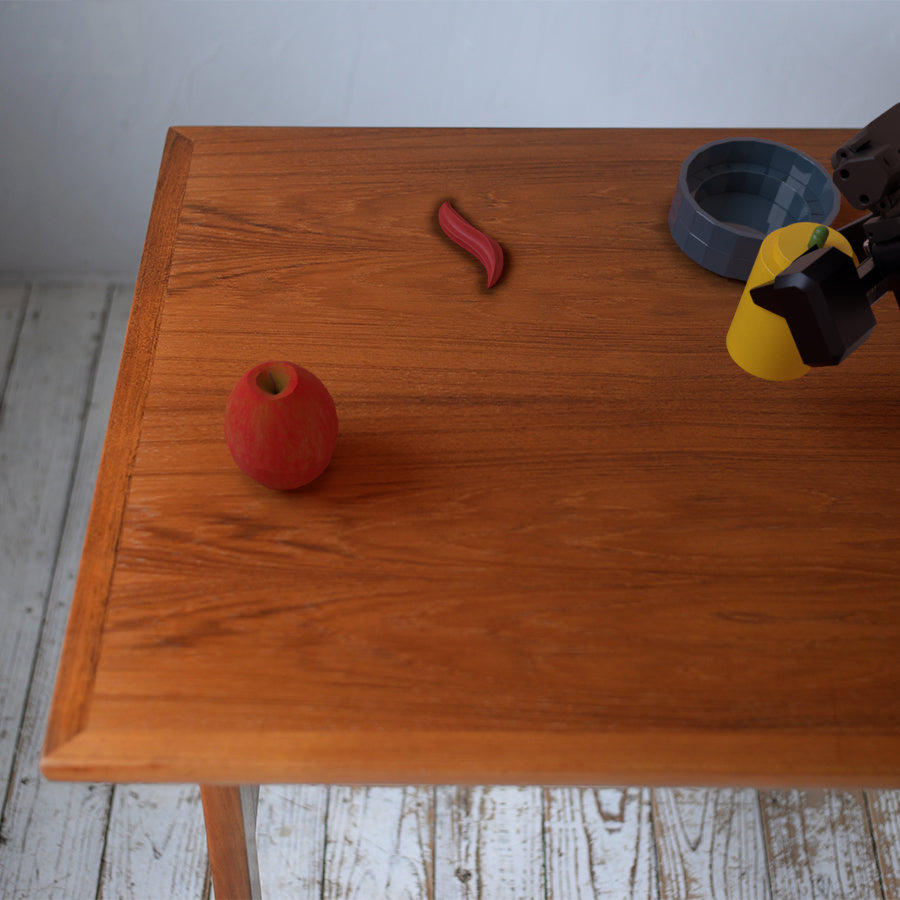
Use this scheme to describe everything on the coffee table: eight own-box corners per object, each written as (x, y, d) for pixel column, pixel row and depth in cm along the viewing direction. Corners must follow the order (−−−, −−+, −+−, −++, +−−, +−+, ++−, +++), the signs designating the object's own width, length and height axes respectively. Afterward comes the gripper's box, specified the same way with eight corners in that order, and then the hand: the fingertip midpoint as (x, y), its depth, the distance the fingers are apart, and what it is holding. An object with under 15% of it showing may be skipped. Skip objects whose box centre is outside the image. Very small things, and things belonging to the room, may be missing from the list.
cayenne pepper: (513, 284, 86) (514, 268, 84) (462, 292, 85) (463, 276, 83) (480, 197, 92) (481, 181, 91) (433, 203, 92) (433, 187, 90)
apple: (313, 405, 77) (301, 311, 68) (361, 480, 73) (354, 389, 64) (217, 446, 74) (191, 353, 66) (261, 526, 70) (240, 438, 62)
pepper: (828, 341, 73) (890, 220, 63) (793, 395, 70) (852, 277, 60) (748, 303, 75) (796, 181, 66) (711, 354, 72) (755, 233, 62)
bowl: (822, 201, 94) (843, 154, 89) (815, 301, 86) (837, 255, 81) (677, 172, 96) (690, 124, 91) (656, 267, 87) (669, 220, 83)
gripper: (1043, 35, 56) (819, 112, 69) (863, 168, 48) (650, 227, 61) (1095, 211, 59) (871, 252, 72) (934, 363, 51) (716, 378, 65)
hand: (782, 273), depth 68 cm, fingers closed on pepper, 6 cm apart
